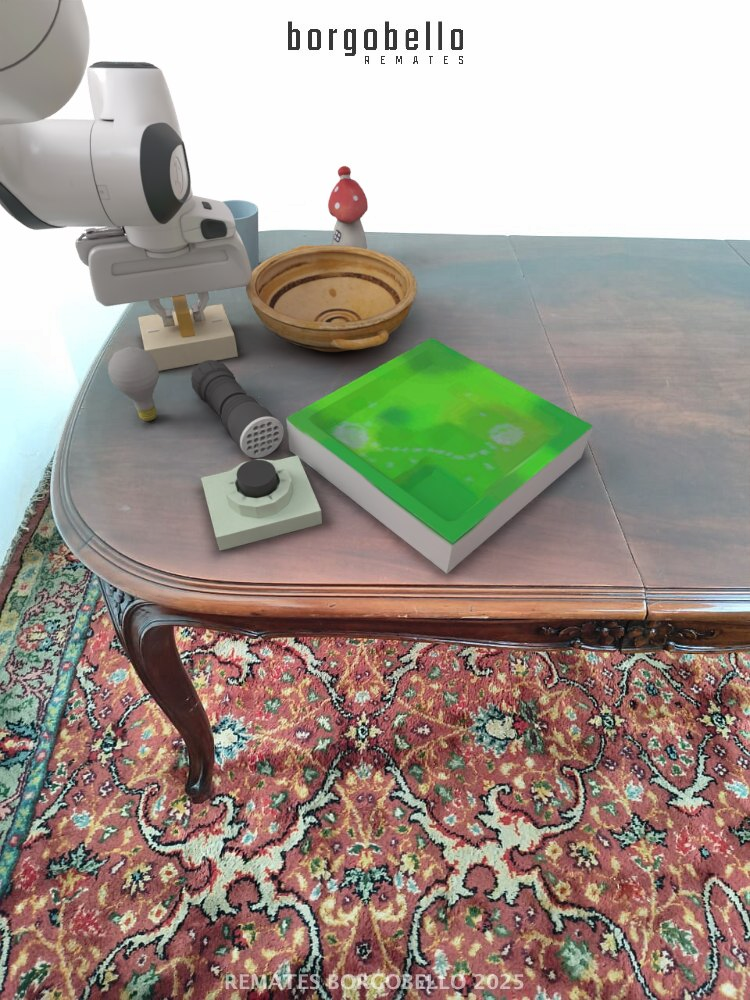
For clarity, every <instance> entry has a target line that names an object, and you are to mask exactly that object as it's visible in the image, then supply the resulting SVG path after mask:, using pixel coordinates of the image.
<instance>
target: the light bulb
mask: <svg viewBox="0 0 750 1000" xmlns="http://www.w3.org/2000/svg"><path fill="white" fill-rule="evenodd" d="M107 372H108V376H109V378H110V381H111V383H112V384H113V386H114V387H115V388H116V389H118V390H119V391H120V392H121V393H123V394H124V395H125V396H127V397H128V398H129V399H131V400H132V402H133V404H134V407H135V409H136V410H137V414H138V416H139V417H138V418H139V419H140V420H142V421H144V422H150V421H152V420H153V421H154V419H156V418H157V415H158V413H157V410H156V406H155V400H154V393H155V389H156V387H157V384H158V382H159V379H160V378H159V377H160V371H159V369H158V366H157V363H156V361H155V360H154V358H153V357H152V356H151V355H150V354H149V353H148V352H147V351H145V349H143V348H140V347H135V346H127V347H122V348H121V349H118V350H116V351H115V352H114V353H113V355H112V356H111V358H110V359H109V362H108V371H107Z"/></svg>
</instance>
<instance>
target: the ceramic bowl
mask: <svg viewBox="0 0 750 1000" xmlns="http://www.w3.org/2000/svg"><path fill="white" fill-rule="evenodd" d="M245 291H246V295H247V298H248V300H249V301H250V302H251V305H252V308H253V310H254V312H255V313H256V315H257V317H258V318H259V320H260V321H261V322H262V324H263V325H264V326H265V327H266V328H267V329H269V330H270V331H271V332H272V333H273V334H275V336H277V337H279V338H281V339H283V340H284V341H286V342H288V343H291V344H293V345H296V346H301V347H303V348H307V349H312V350H316V351H320V352H326V353H327V352H328V353H340V352H341V353H342V352H346V351H354V350H355V351H358V350H363V349H367V348H373V347H378V346H381V345H383V344H385V343H386V342H387V341H388V340H389V335H391V334H392V333H393V332H394V331H395V330H397V329H398V328H399V327H400V326H401V325H402V323H404V321H405V319H406V318H407V317H408V315H409V312H410V310H411V309H412V308H411V307H412V305H413V302H414V301H415V299H416V296H417V294H418V282H417V278H416V276H415V275H414V274H413V272H412V271H411V270H410V268H408V266H406V265H405V264H403V262H401V261H400V260H397V259H396V258H395V257H392V256H390V255H388V254H385V253H382V252H380V251H376V250H373V249H369V248H367V249H365V248H360V247H352V246H341V245H332V244H325V245H309V244H308V245H307V244H306V245H304V244H303V245H299V246H296V247H294V248H292V249H290V250H286V251H284V252H280V253H278V254H276V255H273V256H271V257H269V258H268V259H266V260H264V261H262V262H261V263H260V264H259V266H257V267H256V268H255V269H254V270H253V272H252V280H251V281H250V283H249V285H248V286H245Z"/></svg>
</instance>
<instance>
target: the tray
mask: <svg viewBox="0 0 750 1000" xmlns="http://www.w3.org/2000/svg"><path fill="white" fill-rule="evenodd" d="M285 418H286V428H287V439H288V447H289V448H288V449H289V451H290V452H291V453H292V454H294V456H297V455H298V456H299V459H300V461H302V462H304V463H305V464H306V465H308V466H309V467H310V468H312V469H313V470H314V471H315V472H316V473H318V474H319V475H320V476H322V477H323V478H324V479H325V480H327V481H328V482H329V483H330V484H332V485H333V486H335V487H336V488H337V489H338V490H340V491H341V492H342V493H343V494H344V495H346V496H347V497H348V498H349V499H351V500H352V501H353V502H354V503H356V504H357V505H359V506H360V507H361V508H362V509H364V510H365V511H366V512H367V513H369V515H371V516H373V517H374V518H375V519H376V520H378V521H379V522H380V523H381V524H383V525H384V526H385V527H386V528H388V529H389V530H390V531H392V533H394V534H395V535H396V536H397V537H399V538H400V539H402V540H403V541H404V542H405V543H406V544H408V545H409V546H411V547H412V548H413V549H414V550H416V551H417V552H418V553H420V554H421V555H422V556H423V557H424V558H426V559H427V560H429V562H431V563H432V564H433V565H435V566H436V567H438V569H440V570H441V571H442V572H444V573H445V575H446V574H448V573H449V572H451V571H452V570H453V569H454V568H455V567H457V566H458V565H459V564H460V563H461V562H462V561H464V559H465V558H467V557H468V556H469V555H470V554H471V553H472V552H473V551H475V550H476V549H477V548H478V547H479V546H481V545H482V544H483V543H485V541H487V540H488V539H489V538H490V537H491V536H492V535H494V534H495V533H496V532H497V531H498V530H499V529H500V528H502V527H503V526H504V525H505V524H506V523H507V522H509V521H510V520H511V519H512V518H513V517H514V516H515V515H516V514H519V512H520V511H521V510H522V509H523V508H525V507H526V506H527V505H528V504H529V503H531V502H532V501H533V500H534V499H535V498H536V497H538V496H539V494H541V493H542V492H543V491H545V489H547V488H548V487H549V486H550V485H551V484H553V483H554V482H555V481H556V480H557V479H558V478H560V477H561V476H562V475H563V474H564V473H565V472H566V471H568V470H569V469H570V468H571V467H572V466H573V465H575V464H576V463H577V462H578V461H579V460H581V458H582V457H583V454H584V451H585V449H586V446H587V444H588V442H589V440H590V436H591V434H592V430H593V428H594V425H593V424H590V423H589V422H587V421H585V420H583V419H581V418H579V417H578V416H576V415H575V414H573V413H570V412H569V411H566V410H565V409H563V408H561V407H560V406H558V405H556V404H555V403H552V402H550V401H549V400H547V399H545V398H543V397H541V396H539V395H538V394H536V393H534V392H532V391H530V390H528V389H527V388H524V387H523V386H521V385H520V384H518V383H515V382H514V381H512V380H510V379H508V378H506V377H505V376H503V375H501V374H499V373H497V372H495V371H494V370H492V369H490V368H488V367H487V366H485V365H483V364H481V363H479V362H477V361H475V360H473V359H471V358H469V357H468V356H466V355H464V354H462V353H461V352H460V351H457V350H456V349H453V348H451V347H449V346H448V345H446V344H444V343H442V342H440V341H439V340H437V339H435V338H433V337H430V338H429V339H427V340H425V341H423V342H421V343H419V344H417V345H416V346H414V347H412V348H410V349H408V350H407V351H405V352H403V353H402V354H401V353H400V354H399V355H397V356H396V357H394V358H392V359H391V360H388V361H386V362H385V363H383V364H381V365H379V366H378V367H376V368H373V369H372V370H370V371H369V372H367V373H365V374H363V375H361V376H360V377H358V378H356V379H354V380H352V381H351V382H348V383H347V384H346V385H343V386H341V387H339V388H338V389H336V390H334V391H333V392H331V393H329V394H327V395H325V396H324V397H321V398H320V399H318V400H316V401H314V402H313V403H311V404H309V405H307V406H305V407H303V408H301V409H300V410H298V411H295V412H294V413H293V414H291V415H289V416H288V417H285Z"/></svg>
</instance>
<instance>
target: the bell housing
mask: <svg viewBox="0 0 750 1000" xmlns="http://www.w3.org/2000/svg"><path fill="white" fill-rule="evenodd" d="M255 460H265V461H268V462H270V463H271V464H272V465H273V466H274V467H275V470H276V477H277V487H276V489H275V490H274V491H273V492H272V493H271V494H269V495H267V496H265V497H260V498H251V497H248V496H245V495H244V494H243V493H242V492H241V491H240V489H239V485H238V480H237V471H238V469H239V467H240V466H241V465H243V464H244V463H246V462H248V461H249V460H248V461H243V462H240V464H238V465H237V466H235V467H234V468H232V469H230V470H227V471H224V472H219V473H216V474H211V475H207V476H202V477H201V478H200V480H201V483H202V488H203V492H204V496H205V500H206V504H207V508H208V511H209V515H210V519H211V524H212V527H213V533H214V535H215V539H216V544H217V547H218V550H219V552H220V551H224V550H229V549H233V548H236V547H240V546H244V545H248V544H251V543H254V542H259V541H262V540H266V539H270V538H274V537H277V536H282V535H285V534H288V533H292V532H296V531H300V530H304V529H307V528H312V527H315V526H319V525H322V524H323V517H322V516H323V515H322V509H321V506H320V504H319V502H318V499H317V497H316V494H315V492H314V490H313V487H312V484H311V482H310V480H309V478H308V476H307V473H306V471H305V469H304V466H303V464H302V460H301V459H300V458H299V456H298V455H297V456H296V455H293V456H289V457H284V458H280V459H276V460H271V459H264V458H255Z"/></svg>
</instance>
